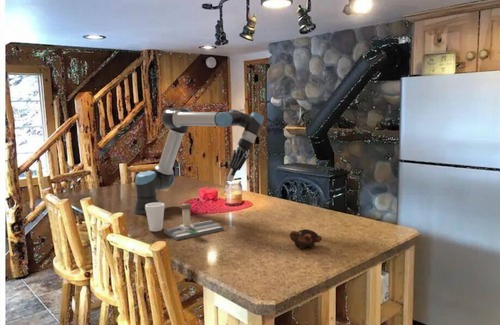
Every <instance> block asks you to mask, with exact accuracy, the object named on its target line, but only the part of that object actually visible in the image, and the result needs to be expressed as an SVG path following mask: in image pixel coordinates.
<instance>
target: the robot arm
mask: <svg viewBox="0 0 500 325" xmlns="http://www.w3.org/2000/svg"><path fill="white" fill-rule="evenodd" d="M160 119H161V122H162V124H163V126H164V127H166V128H168V130H169V131H168V134H167V137H166V140H165V143H164V147H163V150H162V152H161V157H160V159H159V163H158V164H157V165H155V167H154V171H153V170H147V171H141V172H138V173H137V174H135V190H136V191H135V193H136V194H135V195H136V200H135V205H134V207H133V210H134V212H133V213H135V214H137V215H138V214H139V215H147V214H146V210H145V205H146V204H149V203H156V202H157V203H160V202H159V200H158V197H157V192H158V191H159V192H160V191H163V190H167V189H170V188H171V187H172V186H173V185H174V183H175V180H176V178H175V174H174V170H173V167H174V165H175V161H176V159H177V156H178V152H179V149H180V147H181V143H182V140H183V137H184V135H185V134H187V133H188V129H189V128H190V127H221V128H228V127H236V126H238V127H241V128H244V129H243V131H242V134H241V136H240V137H241V138H239V140H238V142H237V145H238V147H237V148H236V149H233V151H232V156H231V159H230V162H229V167H230V169H229V171H228V174H227V177H226V180H227V181H229V182H230V183H231V182H232V181H233V179H234V177H235V175H236V173H237V171H241V169H242V167H243V165H244V164H245V162H246V161H247V160H248V159H249V157H250V155H249V154H248V153H249V150H250V151H251V149H252V147H253V143H255V141H256V139H257V137H258V136H257V135H258V134H259V131H260V129H261V127H262V126H263V122H264V120H265V117H264V116H263V115H262V114H260V113H258V112H255V111H253V112H251V113H250V114H248V113H245V112H242V111H240V110H237V109H233V108H232V109H230V110H229V111H192V110H191V109H189V108H186V107H174V108H173V107H168V108H166V109H165V110H164V111H163V112H162V114H161V118H160Z"/></svg>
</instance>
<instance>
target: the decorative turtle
mask: <svg viewBox="0 0 500 325" xmlns="http://www.w3.org/2000/svg"><path fill="white" fill-rule="evenodd" d="M289 238H290V240H291V241H292V242H293V243H294V245H295V246H296V247H299V249H300V250H304V249H305V248H306V247H308V248H309V249H313V248H314V246H315V244H316V243H320V242H322V240H323V237H322V236H321V235H319V234H318V233H317V232H316V231H313V230H312V229H300V230H299V231H296V230H292V231H291V232H290V233H289ZM312 247H313V248H312Z"/></svg>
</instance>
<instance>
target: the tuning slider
mask: <svg viewBox="0 0 500 325" xmlns="http://www.w3.org/2000/svg"><path fill="white" fill-rule="evenodd" d="M191 208H192V204H191V203H188V202H186V203H181V204H180V209H181V210H182V224H179V226H178V227H180V229H181V230H182V231H184V230H189V229H191V230H193V231H195V230H194V226H193V225H191V224H192V223H191Z"/></svg>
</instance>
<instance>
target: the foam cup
mask: <svg viewBox="0 0 500 325" xmlns="http://www.w3.org/2000/svg"><path fill="white" fill-rule="evenodd" d="M165 207H166V206H165V203H163V202H159V203H157V202H156V203H149V204H146V205H145V210H146V214H145V215H146V218H147V224H148V229H149V231H150V232H160V231H162V230H163V227H164V226H163V224H164V217H165V216H164V214H165Z"/></svg>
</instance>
